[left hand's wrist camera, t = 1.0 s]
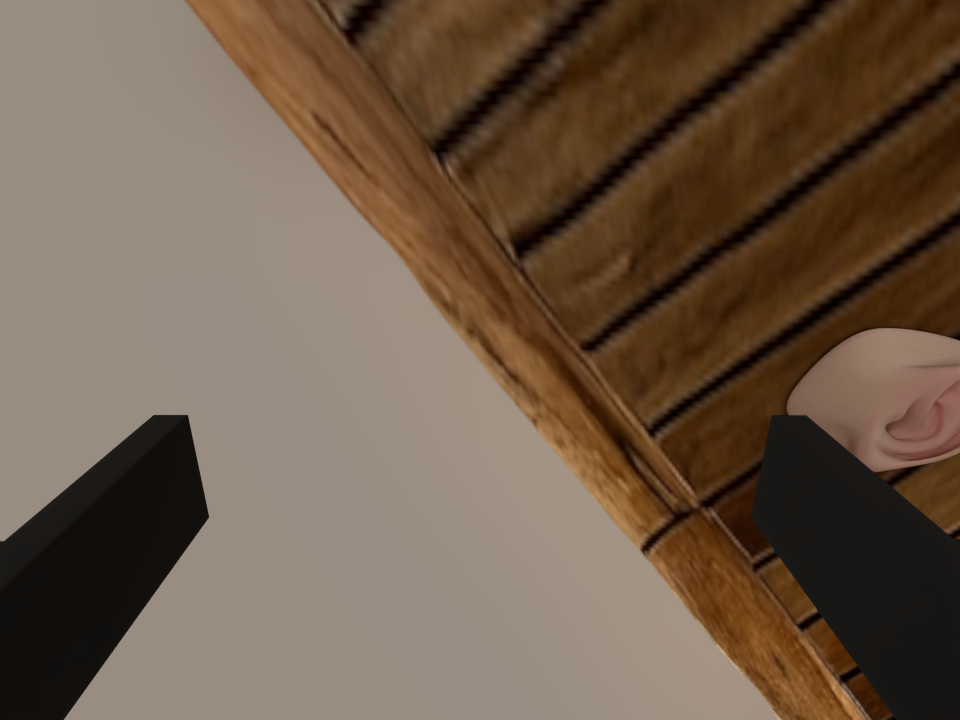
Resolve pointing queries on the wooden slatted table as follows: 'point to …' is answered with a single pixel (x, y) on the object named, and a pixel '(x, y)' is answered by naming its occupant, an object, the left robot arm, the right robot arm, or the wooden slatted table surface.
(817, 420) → the anatomical model
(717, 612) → the wooden slatted table surface
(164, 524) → the left robot arm
